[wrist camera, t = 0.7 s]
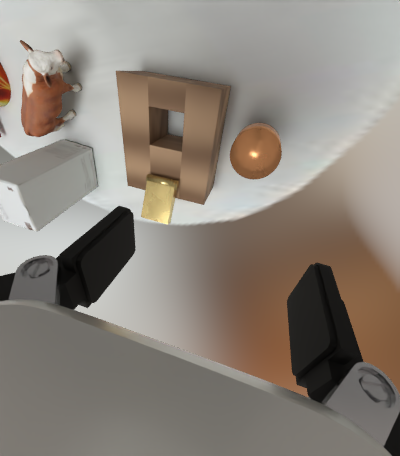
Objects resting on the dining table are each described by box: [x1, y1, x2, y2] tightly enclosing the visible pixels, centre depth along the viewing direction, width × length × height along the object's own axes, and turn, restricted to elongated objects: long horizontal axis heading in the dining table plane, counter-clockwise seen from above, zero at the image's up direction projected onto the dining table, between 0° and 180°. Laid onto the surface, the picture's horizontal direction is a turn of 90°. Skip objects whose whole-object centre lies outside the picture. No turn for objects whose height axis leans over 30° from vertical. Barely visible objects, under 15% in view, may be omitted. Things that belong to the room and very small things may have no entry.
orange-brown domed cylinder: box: [230, 123, 282, 179], centre depth 25 cm, size 5×5×8 cm
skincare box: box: [0, 140, 98, 231], centre depth 34 cm, size 8×6×15 cm
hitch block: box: [116, 71, 231, 205], centre depth 29 cm, size 14×12×6 cm
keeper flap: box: [141, 174, 179, 224], centre depth 29 cm, size 6×4×1 cm
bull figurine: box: [20, 40, 82, 137], centre depth 29 cm, size 4×14×8 cm, turn 137°
